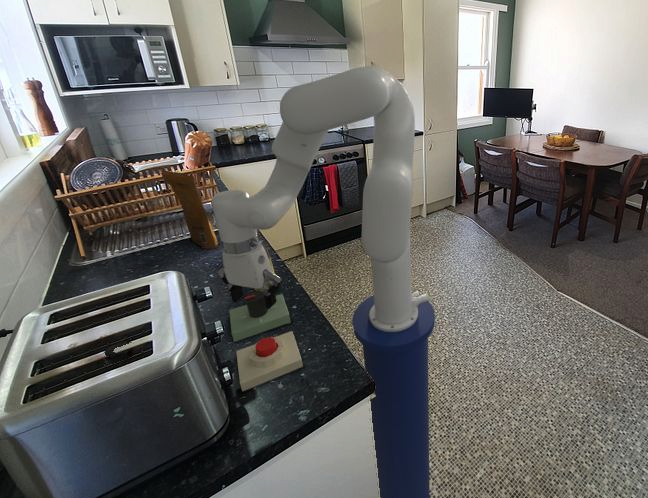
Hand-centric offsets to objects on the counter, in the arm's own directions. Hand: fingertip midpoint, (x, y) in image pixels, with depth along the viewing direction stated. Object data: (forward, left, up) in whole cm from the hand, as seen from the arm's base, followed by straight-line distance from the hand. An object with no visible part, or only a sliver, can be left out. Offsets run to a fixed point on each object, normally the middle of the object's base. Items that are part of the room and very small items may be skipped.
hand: (254, 302), depth 87 cm
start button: (0, +16, -2) cm, 16 cm away
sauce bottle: (-3, -13, -6) cm, 14 cm away
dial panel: (0, 0, -6) cm, 6 cm away
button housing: (0, +16, -6) cm, 17 cm away
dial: (0, 0, -3) cm, 3 cm away
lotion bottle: (+20, +22, -6) cm, 30 cm away
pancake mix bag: (+13, -56, -6) cm, 58 cm away
